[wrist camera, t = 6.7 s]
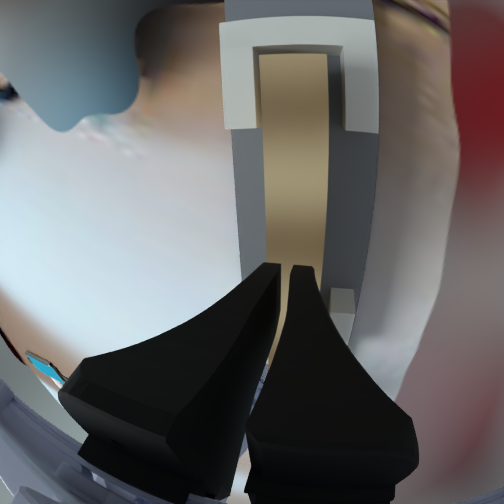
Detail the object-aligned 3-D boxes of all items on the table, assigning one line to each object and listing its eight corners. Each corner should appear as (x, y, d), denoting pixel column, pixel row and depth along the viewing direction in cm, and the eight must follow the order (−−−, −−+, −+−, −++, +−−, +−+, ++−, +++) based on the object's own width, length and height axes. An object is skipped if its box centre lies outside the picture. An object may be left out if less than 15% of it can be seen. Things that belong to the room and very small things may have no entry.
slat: (315, 320, 20) (308, 375, 15) (282, 317, 20) (268, 370, 16) (325, 71, 12) (326, 53, 8) (279, 71, 13) (259, 54, 8)
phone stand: (43, 376, 53) (40, 380, 51) (19, 342, 47) (15, 346, 46) (91, 400, 47) (87, 405, 46) (62, 363, 42) (57, 369, 40)
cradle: (342, 358, 22) (341, 391, 19) (250, 348, 24) (240, 379, 21) (368, 2, 10) (378, -21, 7) (229, 4, 12) (207, -15, 9)
